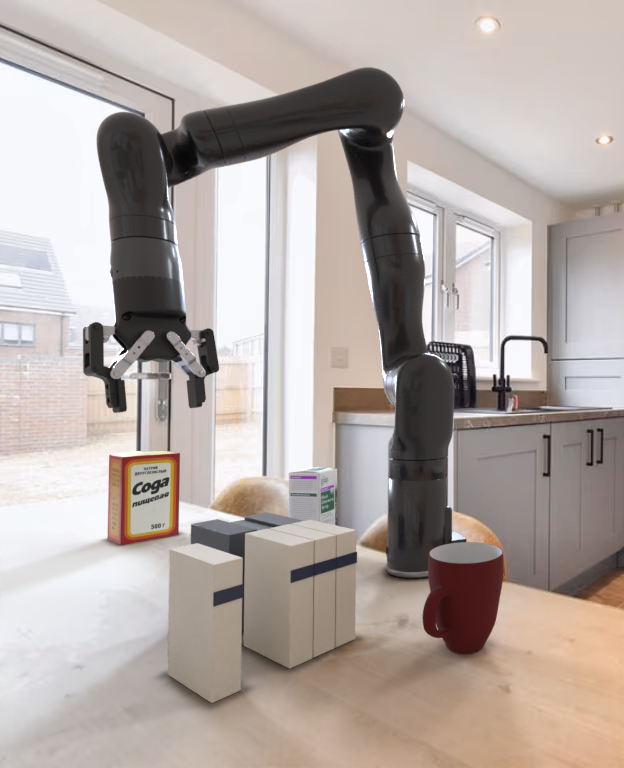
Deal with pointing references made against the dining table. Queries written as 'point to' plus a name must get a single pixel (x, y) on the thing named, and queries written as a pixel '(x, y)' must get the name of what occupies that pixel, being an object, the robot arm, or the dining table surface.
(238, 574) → the white book
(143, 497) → the baking soda box
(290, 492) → the syrup box
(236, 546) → the grey books
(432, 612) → the mug
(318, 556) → the white books
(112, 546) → the dining table surface
